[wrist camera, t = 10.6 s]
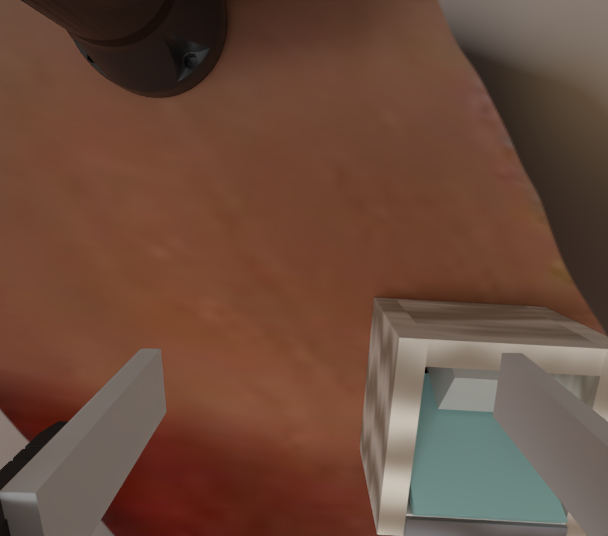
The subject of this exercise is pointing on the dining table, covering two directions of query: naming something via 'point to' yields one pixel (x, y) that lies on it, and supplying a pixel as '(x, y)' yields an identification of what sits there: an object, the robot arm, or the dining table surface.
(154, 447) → the dining table surface
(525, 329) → the crate
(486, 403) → the light grey cube
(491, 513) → the trapdoor
